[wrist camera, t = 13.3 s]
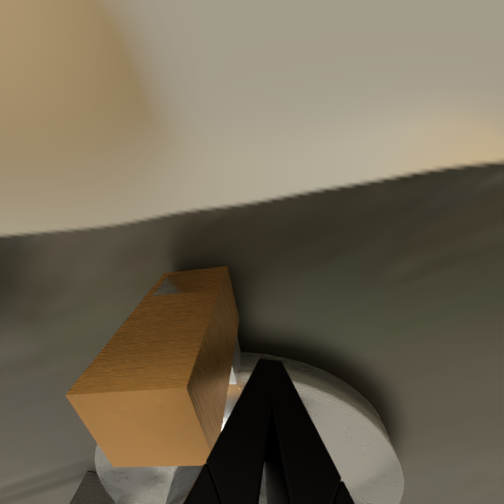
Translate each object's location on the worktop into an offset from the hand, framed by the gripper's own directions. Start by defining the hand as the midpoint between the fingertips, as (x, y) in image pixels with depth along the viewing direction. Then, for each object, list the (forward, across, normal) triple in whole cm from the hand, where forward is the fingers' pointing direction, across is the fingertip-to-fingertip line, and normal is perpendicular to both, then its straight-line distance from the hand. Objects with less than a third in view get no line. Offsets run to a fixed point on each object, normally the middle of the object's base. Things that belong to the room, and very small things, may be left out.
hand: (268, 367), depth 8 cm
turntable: (+4, +1, +10) cm, 11 cm away
